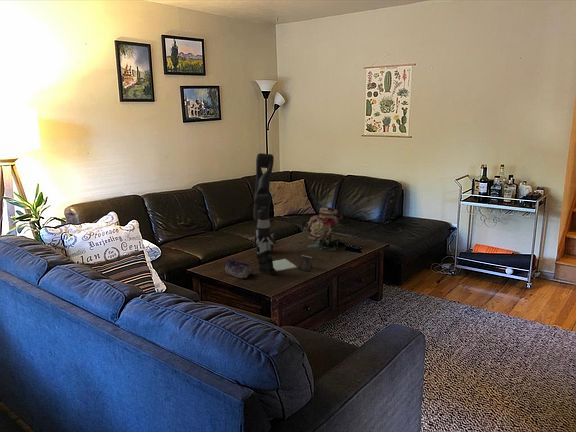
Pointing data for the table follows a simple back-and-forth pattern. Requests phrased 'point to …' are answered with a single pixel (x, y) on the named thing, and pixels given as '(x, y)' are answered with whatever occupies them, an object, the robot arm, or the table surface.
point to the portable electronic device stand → (308, 262)
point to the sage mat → (283, 265)
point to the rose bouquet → (324, 229)
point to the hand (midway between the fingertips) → (265, 251)
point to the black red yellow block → (266, 262)
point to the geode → (238, 268)
